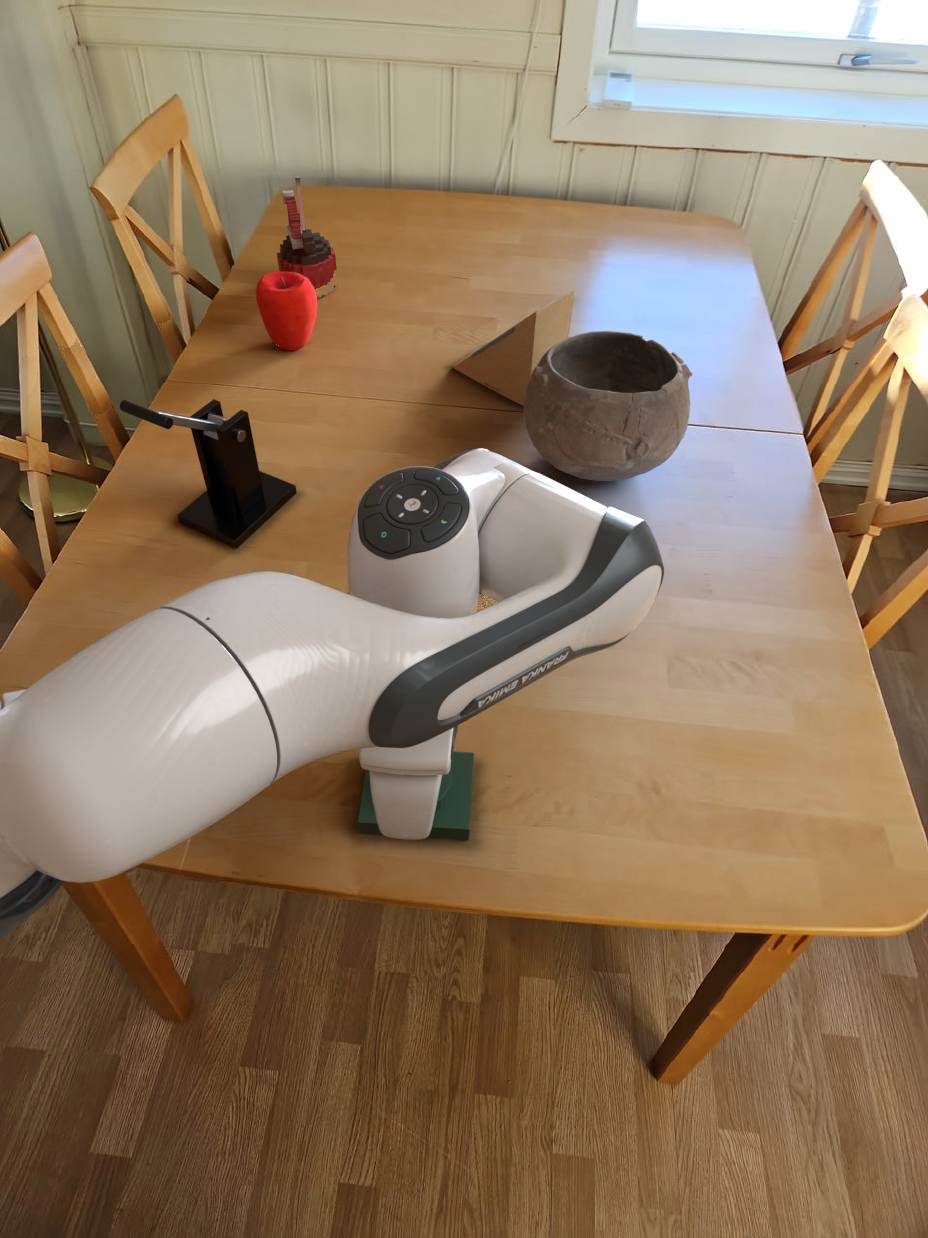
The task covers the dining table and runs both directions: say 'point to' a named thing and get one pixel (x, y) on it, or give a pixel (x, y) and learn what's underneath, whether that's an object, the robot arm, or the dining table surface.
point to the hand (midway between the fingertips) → (417, 762)
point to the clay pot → (607, 405)
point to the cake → (305, 246)
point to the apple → (287, 308)
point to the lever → (174, 419)
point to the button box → (450, 803)
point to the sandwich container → (519, 349)
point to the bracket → (232, 482)
